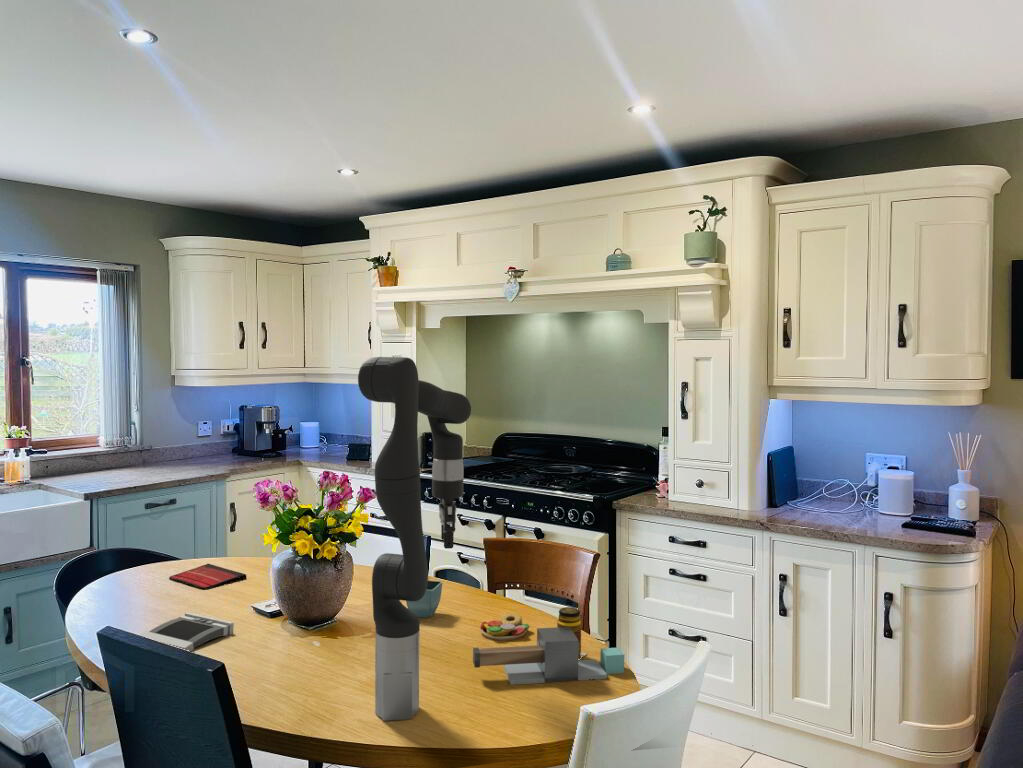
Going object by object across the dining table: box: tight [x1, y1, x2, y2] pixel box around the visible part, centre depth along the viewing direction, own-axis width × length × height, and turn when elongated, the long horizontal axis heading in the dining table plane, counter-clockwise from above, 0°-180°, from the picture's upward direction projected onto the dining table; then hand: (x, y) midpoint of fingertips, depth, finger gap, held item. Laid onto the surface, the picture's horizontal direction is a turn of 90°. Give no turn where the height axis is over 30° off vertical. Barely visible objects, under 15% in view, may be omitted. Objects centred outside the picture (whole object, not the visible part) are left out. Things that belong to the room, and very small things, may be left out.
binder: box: [169, 563, 247, 590], centre depth 255 cm, size 16×2×21 cm
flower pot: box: [405, 579, 443, 619], centre depth 222 cm, size 9×9×9 cm
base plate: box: [503, 659, 608, 686], centre depth 182 cm, size 9×23×1 cm, turn 100°
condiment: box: [556, 606, 587, 659], centre depth 193 cm, size 7×8×12 cm
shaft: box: [472, 644, 543, 669], centre depth 181 cm, size 3×23×3 cm, turn 100°
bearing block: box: [536, 626, 579, 684], centre depth 182 cm, size 9×8×10 cm
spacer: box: [599, 647, 625, 675], centre depth 185 cm, size 4×4×4 cm
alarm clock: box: [140, 612, 235, 652], centre depth 202 cm, size 17×5×16 cm
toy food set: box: [479, 613, 530, 641], centre depth 209 cm, size 13×13×3 cm
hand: (447, 543), depth 185 cm, fingers open, 8 cm apart
